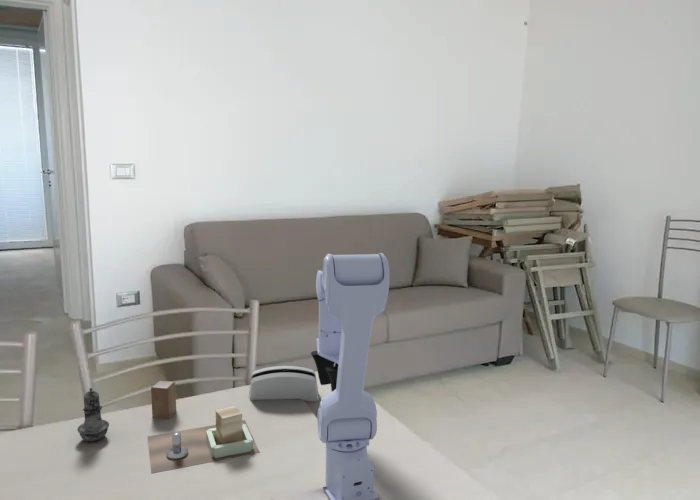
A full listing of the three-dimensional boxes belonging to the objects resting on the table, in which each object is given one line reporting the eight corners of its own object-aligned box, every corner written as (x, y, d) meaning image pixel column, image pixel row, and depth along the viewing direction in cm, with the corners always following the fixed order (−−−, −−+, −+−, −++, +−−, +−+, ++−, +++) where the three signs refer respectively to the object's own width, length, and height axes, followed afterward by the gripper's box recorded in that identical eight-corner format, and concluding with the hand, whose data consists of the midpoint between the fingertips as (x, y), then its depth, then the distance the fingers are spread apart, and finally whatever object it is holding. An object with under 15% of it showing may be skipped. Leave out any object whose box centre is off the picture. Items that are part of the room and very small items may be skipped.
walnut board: (259, 457, 109) (259, 452, 109) (151, 478, 102) (151, 473, 101) (244, 424, 122) (244, 420, 122) (147, 440, 114) (147, 436, 114)
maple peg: (242, 446, 111) (242, 413, 110) (223, 451, 109) (222, 418, 108) (235, 437, 114) (234, 405, 113) (216, 442, 112) (215, 410, 111)
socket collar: (253, 450, 110) (253, 441, 109) (212, 458, 106) (211, 449, 106) (245, 431, 117) (244, 422, 116) (206, 438, 114) (205, 429, 113)
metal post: (189, 457, 107) (188, 436, 106) (167, 461, 105) (166, 440, 105) (186, 447, 110) (186, 427, 110) (165, 450, 109) (164, 430, 108)
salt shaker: (75, 452, 110) (71, 395, 108) (81, 437, 115) (77, 382, 113) (108, 448, 111) (104, 392, 109) (112, 434, 117) (108, 380, 115)
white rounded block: (317, 391, 139) (318, 361, 134) (318, 406, 135) (319, 375, 130) (249, 393, 137) (248, 362, 132) (248, 408, 133) (246, 376, 128)
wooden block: (151, 421, 122) (150, 387, 121) (160, 413, 126) (158, 379, 125) (169, 423, 122) (167, 388, 120) (177, 414, 126) (175, 381, 124)
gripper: (364, 337, 109) (363, 402, 111) (338, 316, 122) (337, 375, 124) (331, 342, 106) (330, 408, 108) (307, 319, 119) (306, 379, 122)
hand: (331, 391), depth 116 cm, fingers open, 7 cm apart
